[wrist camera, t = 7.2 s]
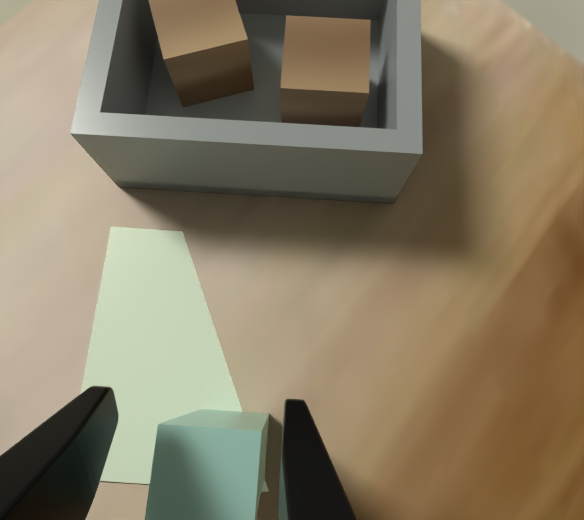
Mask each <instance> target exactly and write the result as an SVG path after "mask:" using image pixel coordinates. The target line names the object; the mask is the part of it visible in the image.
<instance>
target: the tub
mask: <svg viewBox="0 0 584 520" xmlns="http://www.w3.org/2000/svg"><path fill="white" fill-rule="evenodd" d="M235 1H236V4H237V7H238V10H239V13H240V16H241V19H242V23H243V26H244V29H245V32H246V35H247V38H248V45H249V53H250V60H251V68H252V76H253V84H254V90H251V91H247V92H243V93H239V94H235V95H231V96H227V97H223V98H219V99H215V100H211V101H207V102H203V103H199V104H195V105H191V106H187V107H183V106H182V104H181V101H180V99H179V96H178V94H177V91H176V89H175V86H174V84H173V81H172V79H171V76H170V74H169V71H168V69H167V66H166V64H165V61H164V59H163V55H162V51H161V47H160V43H159V39H158V35H157V32H156V28H155V24H154V20H153V16H152V12H151V8H150V4H149V0H99V3H98V7H97V12H96V17H95V21H94V26H93V30H92V35H91V39H90V44H89V49H88V53H87V58H86V62H85V67H84V72H83V76H82V81H81V85H80V90H79V95H78V99H77V104H76V108H75V113H74V118H73V122H72V127H71V131H70V134H71V135H72V136H73V137H74V138H75V139H76V140H77V142H78V143H79V144H80V145H81V146H82V147H83V148H84V149H85V150H86V151H87V153H88V154H89V155H90V156H91V157H92V158H93V159H94V160H95V161H96V163H97V164H98V165H99V166H100V167H101V168H102V169H103V170H104V171H105V172H106V174H107V175H108V176H109V177H110V178H111V179H112V180H113V181H114V182H115V183H116V185H117V186H118V187H128V188H145V189H161V190H178V191H195V192H211V193H228V194H245V195H261V196H278V197H295V198H311V199H328V200H345V201H361V202H378V203H394V202H395V200H396V198H397V197H398V195H399V193H400V192H401V190H402V188H403V186H404V185H405V183H406V181H407V180H408V178H409V176H410V175H411V173H412V171H413V170H414V168H415V166H416V164H417V163H418V161H419V159H420V158H421V156H422V154H423V139H422V71H421V4H420V0H235ZM286 15H289V16H308V17H326V18H345V19H363V20H371V24H370V72H369V95H368V99H367V102H366V106H365V110H364V113H363V117H362V121H361V124H360V127H346V126H328V125H311V124H294V123H282V119H281V92H280V86H281V74H282V62H283V50H284V37H285V25H286Z"/></svg>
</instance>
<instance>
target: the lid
mask: <svg viewBox="0 0 584 520" xmlns="http://www.w3.org/2000/svg"><path fill="white" fill-rule="evenodd" d="M91 386H108V387H111V388H112V389H113V391H114V395H115V400H116V404H117V409H118V414H119V418H118V424H117V428H116V431H115V434H114V437H113V440H112V444H111V447H110V450H109V453H108V456H107V460H106V463H105V466H104V469H103V472H102V476H101V479H100V481H110V482H125V483H140V484H150V486H149V493H148V500H147V508H146V515H145V520H256V516H257V511H258V506H259V501H260V496H261V492H269V490H268V487H267V484H266V481H265V478H264V476H265V464H266V450H267V437H268V423H269V413H255V412H242V409H241V406H240V403H239V400H238V397H237V394H236V391H235V388H234V385H233V382H232V379H231V376H230V373H229V370H228V367H227V364H226V361H225V358H224V355H223V352H222V349H221V346H220V343H219V340H218V337H217V334H216V331H215V328H214V325H213V322H212V319H211V316H210V313H209V310H208V307H207V304H206V301H205V298H204V295H203V292H202V289H201V286H200V283H199V280H198V277H197V274H196V271H195V267H194V264H193V261H192V258H191V255H190V252H189V249H188V246H187V243H186V240H185V237H184V234H183V231H168V230H153V229H138V228H123V227H111V230H110V235H109V241H108V246H107V252H106V257H105V263H104V268H103V274H102V279H101V285H100V290H99V295H98V301H97V306H96V312H95V317H94V323H93V328H92V334H91V339H90V345H89V350H88V355H87V361H86V366H85V372H84V377H83V383H82V388H81V393H82V392H84V391H85V390H86V389H88V388H89V387H91Z"/></svg>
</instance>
